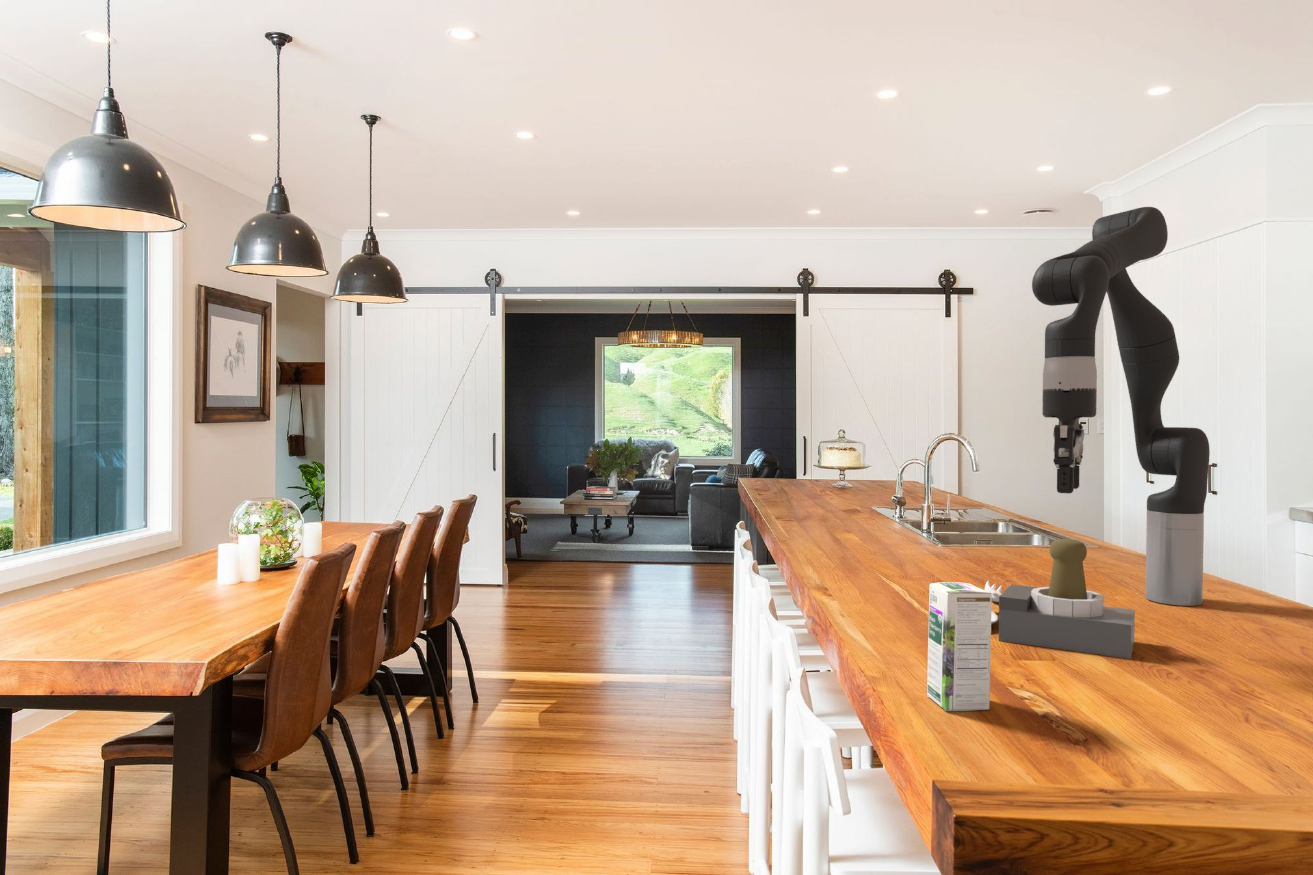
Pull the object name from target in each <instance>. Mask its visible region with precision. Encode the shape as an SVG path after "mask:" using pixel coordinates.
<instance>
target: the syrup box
mask: <svg viewBox="0 0 1313 875" xmlns="http://www.w3.org/2000/svg"><path fill="white" fill-rule="evenodd" d="M928 586H929V590H928V593H929V599H928V602H929V603H928V633H927V634H928V635H927V638H928V639H927V641H928V642H927V672H926V673H927V676H926V677H927V680H926V682H927V684H926V686H927V687H926V688H927V690H926V692H927V693H926V696H927V698H929V699H931V700H932V701H933V702H935V704H937V705H938V706H939V707H941V708H942V709H943V710H944V711H945V712H967V711H969V712H971V711H987V710H990V701H991V700H990V697H991V694H990V693H991V653H992V651H991V650H992V649H991V648H992V647H991V645H992V624H991V610H992V605H993V604H992V603H993V601H992V594H991V593H992V592H987V591H985V589H983V588H980V587H977V586H976V585H973V584H972V583H968V582H959V581H957V582H956V581H944V582H943V581H942V582H934V583H932V582H931V583H929V585H928Z"/></svg>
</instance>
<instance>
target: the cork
mask: <svg viewBox="0 0 1313 875" xmlns="http://www.w3.org/2000/svg"><path fill="white" fill-rule="evenodd" d="M1087 551H1088V550H1087V545H1085V543H1084V542H1082V541H1080V540H1078V539H1072V538H1059V539H1055V540H1053V541H1052V542H1051V543H1050V546H1049V554H1050V557H1051V558H1052V559H1053V560H1052V561H1053V562H1052V569H1051V574H1050V580H1049V586H1048V587H1049V592H1048V596H1051V597H1055V598H1064V599H1083V600H1086V599H1087V591H1088V590H1087V585H1086V577H1085V570H1084V564H1083V562H1084V560H1086V558H1087V555H1088V554H1087V553H1088V552H1087ZM1086 590H1087V591H1086Z"/></svg>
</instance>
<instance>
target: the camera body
mask: <svg viewBox="0 0 1313 875" xmlns="http://www.w3.org/2000/svg"><path fill="white" fill-rule="evenodd" d="M1031 586H1032V585H1031ZM1031 586H1030V585H1019V584H1010V585H1009V586H1008V587H1007V588H1006V589H1005V590H1004V591H1003V592H1002V593H1001V595H1000V596H999V602H998V642H1005V643H1013V644H1019V645H1027V646H1035V647H1039V648H1040V647H1042V648H1048V649H1049V648H1050V649H1057V650H1062V651H1063V650H1064V651H1071V652H1077V653H1084V654H1092V655H1098V656H1099V655H1100V656H1106V657H1113V658H1120V659H1126V660H1127V659H1129V660H1131V659H1132V654H1133V649H1134V646H1135V645H1134V644H1135V626H1136V624H1135V622H1136V621H1135V620H1136V618H1135V617H1136V616H1135V615H1136V613H1135V612H1136V609H1129V608H1121V607H1111V606H1105V605H1104V603H1105V596H1104V595H1103V594H1100V593H1099V592H1095V591H1092V590H1087V589H1086V591H1087V599H1086V600H1083V599H1064V598H1055V597H1051V596H1048V592H1049V586H1043V587H1042V586H1041V587H1037V586H1033V587H1031Z"/></svg>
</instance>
